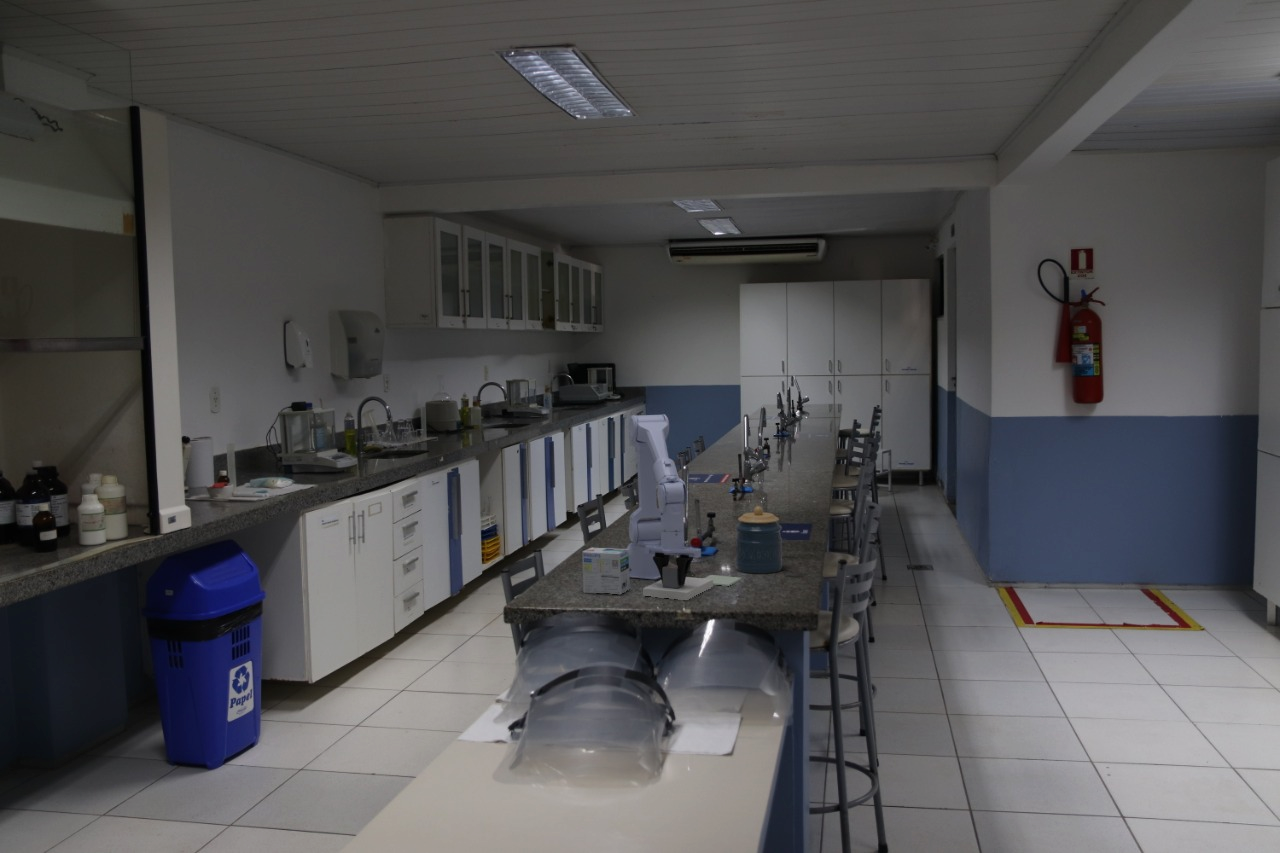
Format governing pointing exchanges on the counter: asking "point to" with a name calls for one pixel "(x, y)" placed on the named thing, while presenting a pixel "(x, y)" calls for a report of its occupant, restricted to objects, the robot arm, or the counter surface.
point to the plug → (670, 577)
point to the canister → (758, 543)
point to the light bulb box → (606, 570)
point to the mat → (723, 580)
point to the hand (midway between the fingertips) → (673, 583)
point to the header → (684, 593)
